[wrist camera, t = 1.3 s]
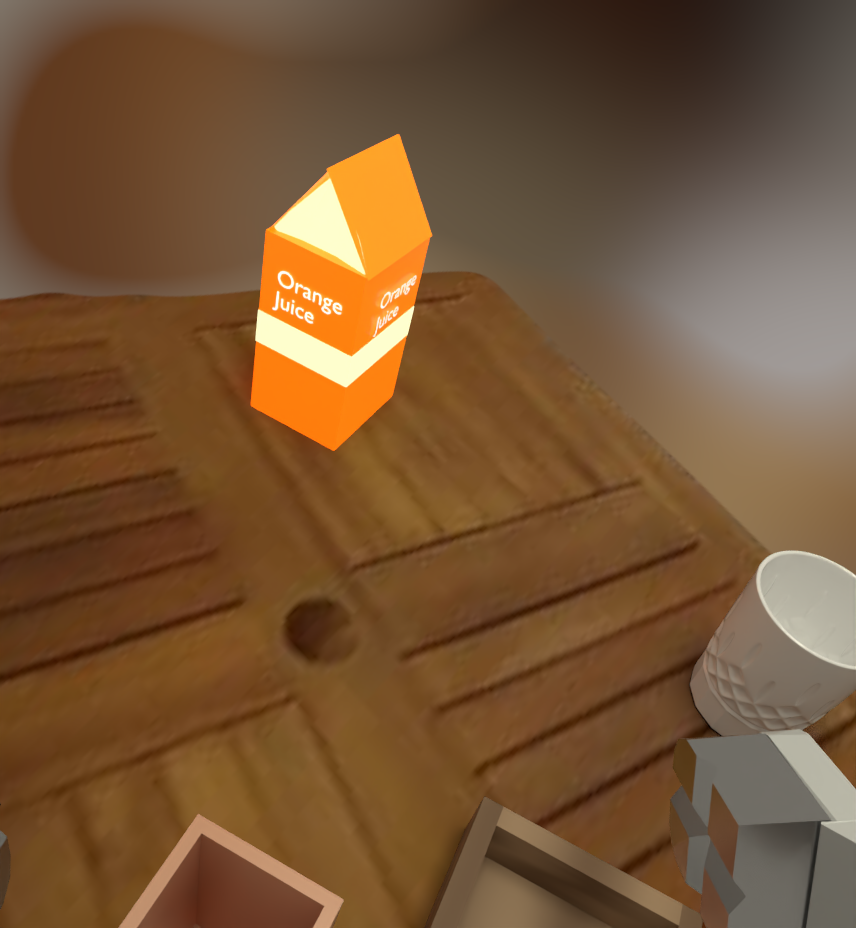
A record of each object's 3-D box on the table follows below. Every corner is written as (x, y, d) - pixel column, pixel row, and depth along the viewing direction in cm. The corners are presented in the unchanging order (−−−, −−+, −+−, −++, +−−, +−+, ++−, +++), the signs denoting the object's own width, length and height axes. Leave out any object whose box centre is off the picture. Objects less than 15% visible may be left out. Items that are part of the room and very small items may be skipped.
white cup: (760, 644, 54) (843, 547, 48) (826, 754, 49) (929, 663, 42) (659, 652, 52) (731, 552, 45) (716, 770, 47) (807, 675, 40)
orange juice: (248, 405, 61) (270, 144, 48) (314, 354, 67) (350, 111, 54) (335, 452, 59) (384, 195, 46) (395, 396, 65) (452, 155, 52)
